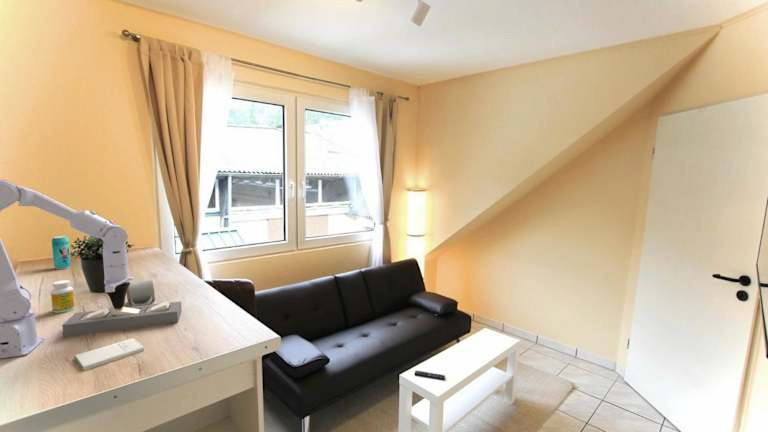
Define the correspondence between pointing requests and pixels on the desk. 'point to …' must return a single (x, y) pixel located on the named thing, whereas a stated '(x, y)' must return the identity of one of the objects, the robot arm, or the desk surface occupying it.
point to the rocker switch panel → (121, 320)
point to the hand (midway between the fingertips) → (118, 307)
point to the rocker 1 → (96, 314)
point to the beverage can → (61, 252)
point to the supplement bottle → (62, 297)
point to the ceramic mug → (141, 293)
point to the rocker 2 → (125, 311)
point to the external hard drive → (108, 353)
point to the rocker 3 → (159, 307)
